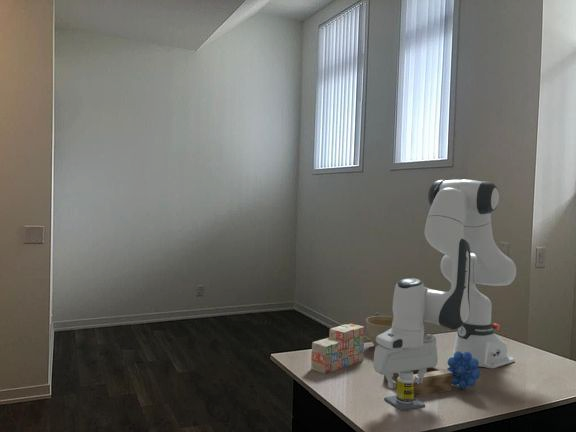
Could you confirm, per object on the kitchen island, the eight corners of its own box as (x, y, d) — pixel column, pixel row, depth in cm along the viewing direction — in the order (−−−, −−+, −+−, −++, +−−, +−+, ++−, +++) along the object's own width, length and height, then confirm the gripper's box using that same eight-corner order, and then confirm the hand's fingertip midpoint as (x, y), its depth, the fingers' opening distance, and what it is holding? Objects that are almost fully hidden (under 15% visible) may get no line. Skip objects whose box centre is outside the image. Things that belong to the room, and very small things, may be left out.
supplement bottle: (403, 405, 136) (404, 375, 136) (392, 398, 140) (394, 369, 140) (417, 402, 138) (418, 373, 138) (406, 396, 143) (407, 367, 142)
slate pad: (406, 395, 145) (406, 393, 145) (425, 406, 137) (425, 404, 137) (384, 399, 141) (384, 397, 141) (402, 411, 134) (402, 408, 134)
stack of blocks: (325, 374, 160) (326, 337, 159) (310, 369, 164) (311, 333, 164) (363, 360, 175) (365, 326, 175) (349, 355, 179) (350, 322, 179)
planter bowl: (380, 339, 200) (381, 313, 200) (415, 349, 189) (416, 321, 189) (356, 347, 189) (357, 319, 188) (393, 358, 178) (394, 328, 177)
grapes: (487, 392, 149) (489, 353, 148) (474, 397, 145) (476, 357, 144) (454, 380, 158) (456, 343, 158) (441, 384, 154) (443, 346, 154)
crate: (421, 374, 163) (421, 358, 162) (451, 389, 150) (452, 372, 150) (383, 379, 156) (384, 363, 156) (412, 396, 144) (413, 379, 143)
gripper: (428, 330, 146) (426, 376, 146) (371, 337, 137) (369, 386, 138) (443, 336, 140) (441, 384, 141) (384, 343, 131) (382, 394, 132)
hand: (405, 385), depth 139 cm, fingers open, 8 cm apart
